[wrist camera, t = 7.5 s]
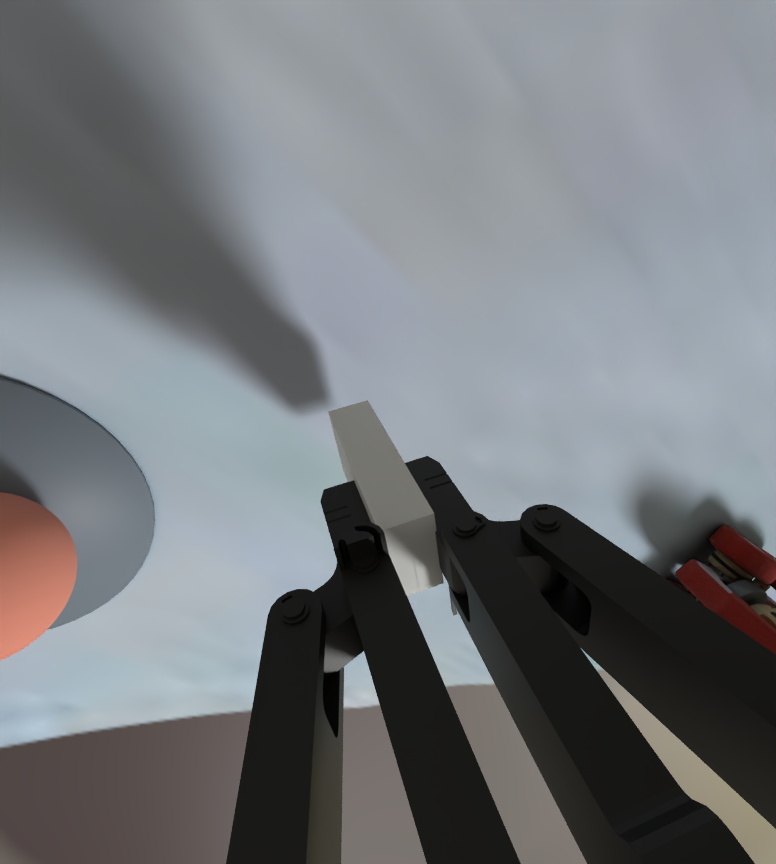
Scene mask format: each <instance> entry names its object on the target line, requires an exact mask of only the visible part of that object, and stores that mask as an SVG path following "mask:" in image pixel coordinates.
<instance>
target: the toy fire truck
mask: <svg viewBox="0 0 776 864" xmlns="http://www.w3.org/2000/svg"><path fill="white" fill-rule="evenodd" d="M710 542H711V544H712V545H713V546H714V547H716V548H717V550H716V551H715V552H712V553H711V556H710V557H709V558H708V560H709V562H710V563H711V564H709V563H707V564H703V563H701V562H699V561H697V560H694V559H691V560H689V561H688V562H687V563H685V564H684V565H683V566H682V567H681V568H679V569H678V570H677V571H676V576H677V578H678V579H679V580H680V581H681V582H682V583H683V584H684V585H685V587H687V588H688V589H689V590H690V592H689V591H688V590H687V589H685V588H684V587H683V586H681V585H680V584H678V583H676V582H674V581H671V580H668V581H669V582H670V583H672V584H673V585H675V586H676V587H678V588H679V589H681V590H682V591H684V592H685V593H687V594H688V595H689V596H691V597H692V598H694V599H695V600H697V601H698V602H700V603H701V604H703V605H704V606H706V607H707V608H709V609H710V610H711V611H713V612H714V613H716V614H717V615H719V616H720V617H722V618H723V619H725V620H726V621H728V622H729V623H731V624H732V625H733V626H735V627H736V628H738V629H739V630H741V631H742V632H744V633H745V634H747V635H748V636H750V637H751V638H753V639H754V640H755V641H757V642H758V643H760V644H761V645H763V646H764V647H766V648H767V649H769V650H770V651H772V652H773V653H775V654H776V602H775V601H774V600H772V599H771V598H770V597H769V596H767V594H766V591H767V590H768V589H769V588H770V586H771V587H773V588H774V589H775V590H776V558H775V557H773V556H772V555H770V554H769V553H767V552H766V551H764V550H763V549H761V548H760V547H758V546H756V545H755V544H754V543H752V542H751V541H750V540H748V539H747V538H745V537H744V536H743V535H741V534H740V533H738V532H737V531H736V530H734V529H733V528H731V527H730V526H728V525H723V526H721V527H720V528H719V529H718V530H717V531H716V532H715V533H714V534H713V535H712V536H711V537H710ZM753 578H755V579H754V580H753V581H752V579H753Z"/></svg>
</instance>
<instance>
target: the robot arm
mask: <svg viewBox="0 0 776 864" xmlns="http://www.w3.org/2000/svg"><path fill="white" fill-rule="evenodd" d="M328 413H329V416H330V420H331V424H332V428H333V432H334V436H335V440H336V443H337V447H338V451H339V455H340V459H341V463H342V467H343V471H344V473H345V476H346V478H347V481H348V482H347V483H343V484H340V485H337V486H334V487H331V488H328V489H324V491H323V495H322V498H321V505H322V508H323V512H324V515H325V519H326V522H327V526H328V529H329V532H330V536H331V539H332V543H333V546H334V551H335V555H336V558H337V567H336V570H335V572H334V574H333V576H332V577H331V578H330V579H329V581H327V582H326V583H325V584H324V585H323V586H321V587H320V588H318V589H317V590H315V591H314V592H312V591H310V590H308V589H296V590H293V591H290V592H287V593H286V594H284V595H283V596H281V597H280V598H278V599H277V600H276V602H275V603H274V604H273V605H272V606H271V609H270V612H269V614H268V618H267V624H266V630H265V636H264V642H263V648H262V654H261V660H260V666H259V672H258V678H257V684H256V690H255V696H254V702H253V708H252V713H251V719H250V725H249V731H248V737H247V743H246V749H245V755H244V761H243V767H242V773H241V779H240V785H239V791H238V797H237V802H236V808H235V815H234V821H233V826H232V832H231V838H230V845H229V850H228V856H227V862H226V864H341V832H342V831H341V830H342V829H341V828H342V762H343V761H342V760H343V695H344V666H345V665H346V664H347V663H349V662H350V661H351V660H353V659H354V658H355V657H356V656H358V655H359V654H360V653H362V652H363V651H364V652H365V655H366V659H367V662H368V666H369V669H370V672H371V676H372V679H373V683H374V686H375V689H376V693H377V696H378V699H379V703H380V706H381V710H382V713H383V716H384V720H385V723H386V727H387V730H388V733H389V737H390V740H391V743H392V747H393V750H394V754H395V757H396V760H397V764H398V767H399V771H400V774H401V777H402V780H403V784H404V787H405V791H406V794H407V798H408V801H409V804H410V808H411V811H412V814H413V818H414V821H415V825H416V828H417V831H418V835H419V838H420V842H421V845H422V848H423V852H424V855H425V858H426V862H427V864H521V863H520V861H519V859H518V857H517V854H516V852H515V849H514V847H513V845H512V843H511V840H510V838H509V836H508V833H507V831H506V829H505V826H504V824H503V821H502V819H501V817H500V814H499V812H498V810H497V807H496V805H495V802H494V800H493V798H492V795H491V793H490V791H489V789H488V786H487V784H486V781H485V779H484V777H483V774H482V772H481V770H480V767H479V765H478V763H477V760H476V758H475V755H474V753H473V751H472V748H471V746H470V744H469V741H468V739H467V737H466V734H465V732H464V730H463V727H462V725H461V722H460V720H459V718H458V715H457V713H456V711H455V708H454V706H453V704H452V702H451V699H450V697H449V694H448V692H447V690H446V687H445V685H444V683H443V680H442V678H441V675H440V673H439V671H438V668H437V666H436V664H435V661H434V659H433V657H432V654H431V652H430V650H429V647H428V645H427V643H426V640H425V638H424V635H423V633H422V631H421V628H420V626H419V624H418V621H417V619H416V617H415V614H414V612H413V610H412V607H411V605H410V603H409V600H408V598H407V596H409V595H412V594H414V593H417V592H420V591H423V590H425V589H428V588H431V587H434V586H437V585H439V584H442V583H444V582H443V575H442V572H443V574H444V576H445V578H446V580H447V582H448V584H449V592H450V599H451V607H452V612H453V615H456V614H457V611H458V612H459V614H460V616H461V618H462V620H463V622H464V624H465V626H466V628H467V630H468V632H469V634H470V636H471V638H472V640H473V642H474V644H475V646H476V648H477V650H478V651H479V653H480V655H481V657H482V659H483V661H484V663H485V665H486V667H487V669H488V671H489V673H490V675H491V677H492V679H493V681H494V683H495V685H496V687H497V688H498V690H499V692H500V694H501V696H502V698H503V700H504V702H505V704H506V706H507V708H508V710H509V712H510V714H511V716H512V718H513V720H514V722H515V724H516V725H517V728H518V730H519V731H520V733H521V735H522V737H523V739H524V741H525V743H526V745H527V747H528V749H529V751H530V753H531V755H532V757H533V759H534V761H535V763H536V764H537V767H538V768H539V770H540V772H541V774H542V776H543V778H544V780H545V782H546V784H547V786H548V788H549V790H550V792H551V794H552V796H553V798H554V800H555V802H556V803H557V806H558V807H559V809H560V811H561V813H562V815H563V817H564V819H565V821H566V823H567V825H568V827H569V829H570V831H571V833H572V835H573V837H574V839H575V841H576V843H577V845H578V846H579V848H580V850H581V852H582V854H583V856H584V858H585V860H586V862H587V864H755V863H754V862H753V861H752V859H751V858H750V857H749V855H748V854H747V852H746V851H745V850H744V848H743V847H742V846H741V844H740V843H739V842H738V840H737V839H736V838H735V836H734V835H733V834H732V832H731V831H730V830H729V829H728V828H727V826H726V825H725V824H724V823H723V822H722V820H721V819H719V817H718V816H717V815H716V814H715V813H714V812H713V811H711V810H710V809H709V808H708V807H707V806H705V805H703V804H701V803H699V802H697V801H695V800H692V799H691V798H690V797H689V796H688V795H687V794H686V793H685V792H684V791H683V790H682V789H681V787H680V786H679V785H678V784H677V782H676V781H675V779H674V778H673V777H672V775H671V774H670V773H669V771H668V770H667V768H666V767H665V766H664V764H663V763H662V761H661V760H660V759H659V758H658V756H657V754H656V753H655V752H654V750H653V749H652V747H651V746H650V745H649V743H648V742H647V741H646V739H645V738H644V736H643V735H642V733H641V732H640V731H639V729H638V728H637V726H636V725H635V724H634V722H633V721H632V719H631V718H630V717H629V715H628V714H627V713H626V711H625V710H624V708H623V707H622V706H621V704H620V703H619V701H618V700H617V699H616V697H615V696H614V695H613V693H612V692H611V690H610V689H609V687H608V686H607V685H606V683H605V682H604V681H603V679H602V678H601V676H600V675H599V674H598V672H597V671H596V669H595V668H594V666H593V665H592V664H591V662H590V661H589V659H588V658H587V657H586V655H585V654H584V653H583V651H582V650H581V649H583V650H584V651H585V652H586V653H587V654H588V655H589V656H590V657H591V658H592V659H593V660H594V661H595V662H597V663H598V664H599V665H600V666H601V667H602V668H603V669H604V670H605V671H606V672H608V674H610V675H611V676H612V677H613V678H614V679H615V680H616V681H617V682H618V683H619V684H620V685H621V686H622V687H624V688H625V689H626V690H627V691H628V692H629V693H630V694H631V695H632V696H633V697H634V698H636V700H638V701H639V702H640V703H641V704H642V705H643V706H644V707H645V708H646V709H647V710H648V711H649V712H650V713H652V714H653V715H654V716H655V717H656V718H657V719H658V720H659V721H660V722H661V723H662V724H663V725H665V726H666V727H667V728H668V729H669V730H670V731H671V732H672V733H673V734H674V735H675V736H676V737H677V738H679V739H680V740H681V741H682V742H683V743H684V744H685V745H686V746H687V747H688V748H689V749H691V751H693V752H694V753H695V754H696V755H697V756H698V757H699V758H700V759H701V760H702V761H703V762H704V763H706V764H707V765H708V766H709V767H710V768H711V769H712V770H713V771H714V772H715V773H716V774H717V775H718V776H720V777H721V778H722V779H723V780H724V781H725V782H726V783H727V784H728V785H729V786H730V787H731V788H732V789H734V790H735V791H736V792H737V793H738V794H739V795H740V796H741V797H742V798H743V799H744V800H745V801H746V802H748V803H749V804H750V805H751V806H752V807H753V808H754V809H755V810H756V811H757V812H758V813H759V814H761V815H762V816H763V817H764V818H765V819H766V820H767V821H768V822H769V823H770V824H771V825H772V826H773V827H775V828H776V654H775V653H773V652H772V651H770V650H769V649H767V648H766V647H764V646H763V645H761V644H760V643H758V642H757V641H755V640H754V639H753V638H751V637H750V636H748V635H747V634H745V633H744V632H742V631H741V630H739V629H738V628H736V627H735V626H733V625H732V624H731V623H729V622H728V621H726V620H725V619H723V618H722V617H720V616H719V615H717V614H716V613H714V612H713V611H711V610H710V609H709V608H707V607H706V606H704V605H703V604H701V603H700V602H698V601H697V600H695V599H694V598H692V597H691V596H689V595H688V594H687V593H685V592H684V591H682V590H681V589H679V588H678V587H676V586H675V585H673V584H672V583H670V582H669V581H667V580H666V579H665V578H663V577H662V576H660V575H659V574H657V573H656V572H654V571H653V570H651V569H650V568H648V567H647V566H645V565H644V564H643V563H641V562H640V561H638V560H637V559H635V558H634V557H632V556H631V555H629V554H628V553H626V552H625V551H623V550H622V549H621V548H619V547H618V546H616V545H615V544H613V543H612V542H610V541H609V540H607V539H606V538H604V537H603V536H601V535H600V534H599V533H597V532H596V531H594V530H593V529H591V528H590V527H588V526H587V525H585V524H584V523H582V522H581V521H579V520H578V519H577V518H575V517H574V516H572V515H571V514H569V513H568V512H566V511H565V510H563V509H561V508H559V507H557V506H553V505H548V504H542V505H535V506H532V507H529V508H528V509H526V510H525V511H524V512H523V513H522V516H521V519H520V520H517V521H504V522H503V521H491V520H488V519H487V518H486V517H485V516H483V515H482V514H480V513H477V512H475V511H473V510H472V509H471V507H470V506H469V504H468V503H467V501H466V500H465V499H464V497H463V496H462V494H461V493H460V491H459V490H458V489H457V487H456V486H455V484H454V483H453V482H452V480H451V479H450V477H449V476H448V474H446V471H445V470H444V469H443V467H442V466H441V464H440V463H439V462H437V461H435V460H434V459H432V458H430V457H428V456H426V457H423V458H420V459H416V460H413V461H410V462H407V463H404V461H403V459H402V458H401V456H400V454H399V453H398V451H397V449H396V448H395V446H394V444H393V442H392V441H391V439H390V437H389V436H388V434H387V432H386V431H385V429H384V427H383V425H382V424H381V422H380V420H379V419H378V417H377V415H376V414H375V412H374V410H373V409H372V407H371V405H370V403H369V402H368V400H367V401H364V402H360V403H357V404H353V405H350V406H346V407H343V408H339V409H336V410H333V411H329V412H328ZM456 609H457V610H456Z"/></svg>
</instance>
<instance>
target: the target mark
mask: <svg viewBox="0 0 776 864" xmlns="http://www.w3.org/2000/svg"><path fill="white" fill-rule="evenodd" d="M0 492H3V493H10V494H14V495H18V496H21V497H24V498H27V499H29V500H32V501H34V502H36V503H38V504H40V505H42V506H43V507H45V508H46V509H48V510H49V511H51V512H52V513H53V514H54V515H55V516H56V517H58V518H59V520H60V521H61V522H62V523H63V525H64V526H65V527H66V529H67V530H68V532H69V534H70V535H71V537H72V540H73V543H74V546H75V549H76V555H77V574H76V581H75V584H74V588H73V591H72V593H71V596H70V598H69V600H68V602H67V604H66V606H65V607H64V609H63V610H62V612H61V613H60V615H59V616H58V618H57V619H56V620H55V621H54V623H53V624H52V625H51V626H50V627H49V628H48V629H52V628H55V627H58V626H61V625H63V624H66V623H69V622H71V621H74V620H76V619H78V618H80V617H82V616H84V615H86V614H88V613H90V612H92V611H94V610H96V609H97V608H99V607H100V606H102V605H104V604H105V603H107V602H108V601H109V600H111V599H112V598H113V597H114V596H116V595H117V594H118V593H119V592H121V591H122V590H123V589H124V588H125V587H126V586H127V585H128V583H129V582H130V581H131V580H132V579H133V578H134V577H135V575H136V574H137V572H138V571H139V570H140V568H141V567H142V565H143V563H144V561H145V559H146V557H147V555H148V553H149V550H150V546H151V543H152V539H153V534H154V524H155V514H154V503H153V500H152V496H151V492H150V488H149V486H148V484H147V482H146V479H145V477H144V475H143V473H142V471H141V469H140V468H139V466H138V465H137V463H136V462H135V460H134V459H133V457H132V456H131V455H130V454H129V452H128V451H127V450H126V449H125V448H124V447H123V446H122V444H121V443H120V442H119V441H118V440H117V439H116V438H115V437H114V436H113V435H111V434H110V433H109V432H108V431H107V430H106V429H105V428H103V427H102V426H101V425H100V424H98V423H97V422H96V421H94V420H93V419H91V418H90V417H88V416H87V415H86V414H84V413H83V412H81V411H80V410H78V409H76V408H74V407H72V406H71V405H69V404H67V403H65V402H63V401H62V400H60V399H58V398H56V397H53V396H51V395H49V394H46V393H44V392H42V391H39V390H37V389H35V388H32V387H30V386H27V385H24V384H21V383H17V382H14V381H11V380H8V379H5V378H2V377H0ZM48 629H47V630H48Z"/></svg>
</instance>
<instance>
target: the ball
mask: <svg viewBox="0 0 776 864" xmlns="http://www.w3.org/2000/svg"><path fill="white" fill-rule="evenodd" d="M76 574H77V555H76V549H75V546H74V543H73V540H72V537H71V535H70V534H69V532H68V530H67V529H66V527H65V526H64V525H63V523H62V522H61V521H60V520H59V518H58V517H56V516H55V515H54V514H53V513H52V512H51V511H49V510H48V509H46V508H45V507H43V506H42V505H40V504H38V503H36V502H34V501H32V500H29V499H27V498H24V497H21V496H18V495H14V494H10V493H3V492H0V660H2V659H5V658H7V657H9V656H11V655H13V654H15V653H17V652H18V651H20V650H21V649H23V648H25V647H26V646H28V645H29V644H30V643H32V642H33V641H35V640H36V639H37V638H38V637H39V636H41V635H42V634H43V633H44V632H45V631H46V630H47V629H48V628H49V627H50V626H51V625H52V624H53V623H54V621H55V620H56V619H57V618H58V616H59V615H60V613H61V612H62V610H63V609H64V607H65V606H66V604H67V602H68V600H69V598H70V596H71V593H72V591H73V588H74V584H75V581H76Z"/></svg>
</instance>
